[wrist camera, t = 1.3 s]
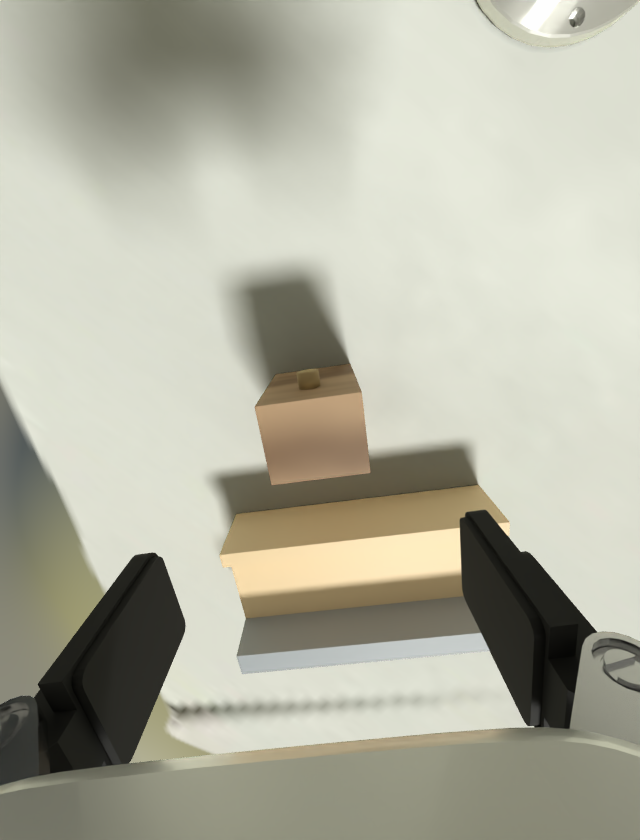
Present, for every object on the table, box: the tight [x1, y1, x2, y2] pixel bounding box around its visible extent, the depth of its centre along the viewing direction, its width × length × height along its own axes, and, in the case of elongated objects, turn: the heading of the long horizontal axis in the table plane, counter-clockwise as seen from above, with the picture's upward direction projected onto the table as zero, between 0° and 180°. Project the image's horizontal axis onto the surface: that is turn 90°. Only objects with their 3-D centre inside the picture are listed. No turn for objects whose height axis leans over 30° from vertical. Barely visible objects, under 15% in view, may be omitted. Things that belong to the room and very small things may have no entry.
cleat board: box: [220, 485, 510, 674], centre depth 30 cm, size 10×22×8 cm, turn 98°
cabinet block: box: [255, 364, 371, 485], centre depth 24 cm, size 6×6×9 cm
